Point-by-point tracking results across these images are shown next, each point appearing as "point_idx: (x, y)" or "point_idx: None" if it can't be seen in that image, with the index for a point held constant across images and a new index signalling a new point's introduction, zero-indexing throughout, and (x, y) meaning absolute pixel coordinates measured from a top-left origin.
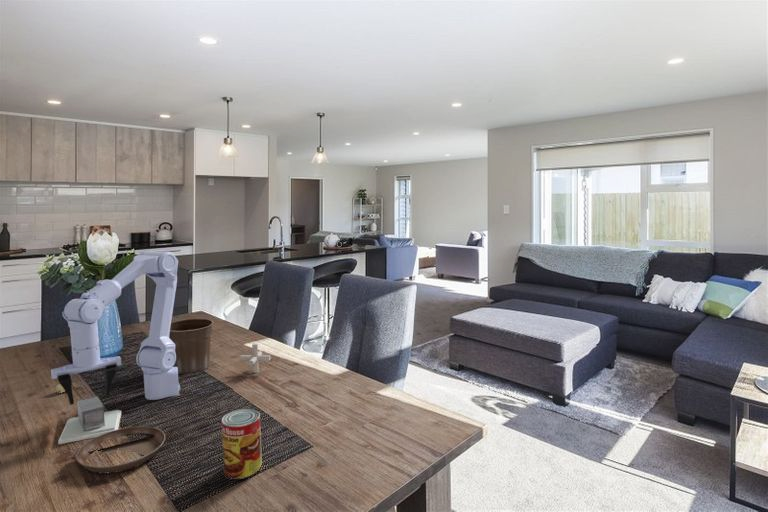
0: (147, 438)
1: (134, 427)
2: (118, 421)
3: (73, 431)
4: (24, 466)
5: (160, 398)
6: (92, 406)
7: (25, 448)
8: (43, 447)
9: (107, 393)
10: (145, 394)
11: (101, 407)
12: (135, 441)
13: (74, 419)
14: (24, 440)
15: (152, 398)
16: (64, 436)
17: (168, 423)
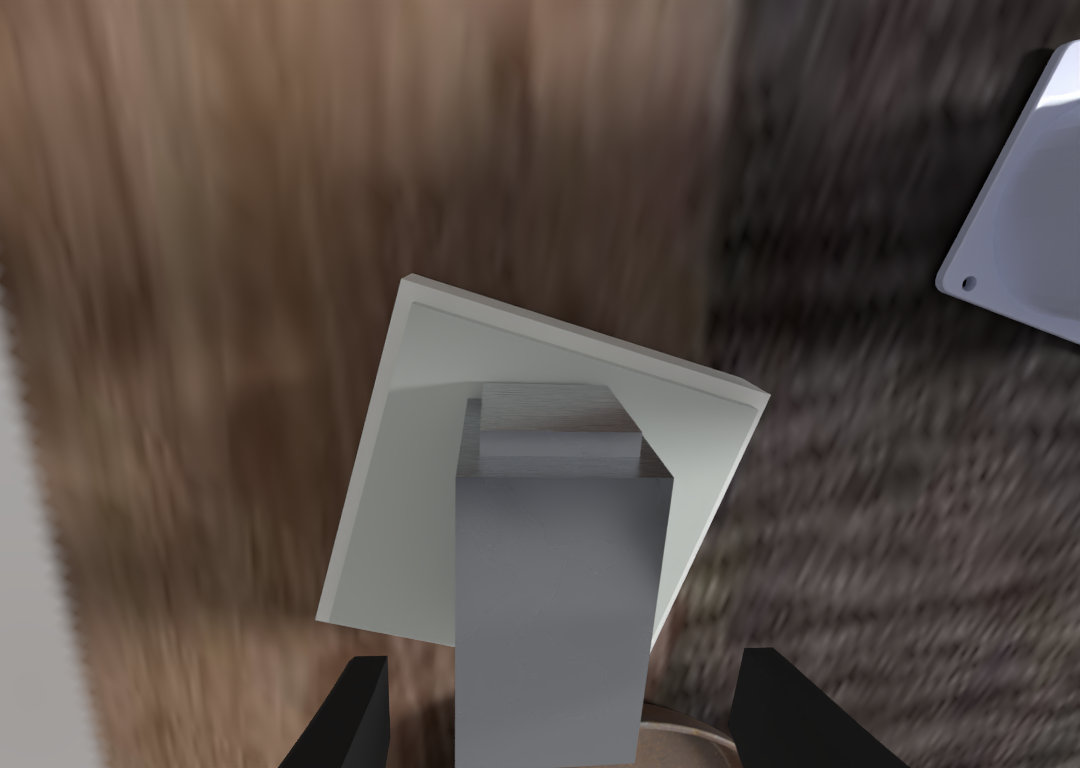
0: (725, 754)
1: (716, 741)
2: (684, 574)
3: (409, 580)
4: (164, 662)
5: (1069, 319)
6: (558, 709)
7: (138, 437)
8: (248, 499)
9: (748, 759)
10: (1054, 206)
11: (616, 758)
12: (672, 747)
13: (441, 363)
14: (112, 290)
15: (1036, 290)
16: (349, 619)
17: (877, 643)
